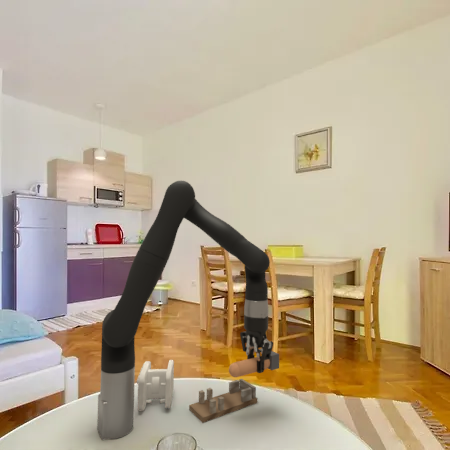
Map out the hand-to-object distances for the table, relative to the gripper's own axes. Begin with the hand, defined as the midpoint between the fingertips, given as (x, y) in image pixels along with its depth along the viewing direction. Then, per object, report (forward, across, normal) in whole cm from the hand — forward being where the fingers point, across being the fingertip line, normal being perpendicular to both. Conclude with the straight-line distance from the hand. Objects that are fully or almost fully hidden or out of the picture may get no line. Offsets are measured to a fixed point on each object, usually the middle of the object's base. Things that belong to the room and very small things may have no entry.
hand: (255, 369), depth 96 cm
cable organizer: (+14, -24, -23) cm, 36 cm away
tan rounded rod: (+1, 0, -1) cm, 1 cm away
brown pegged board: (+14, -10, -5) cm, 18 cm away
